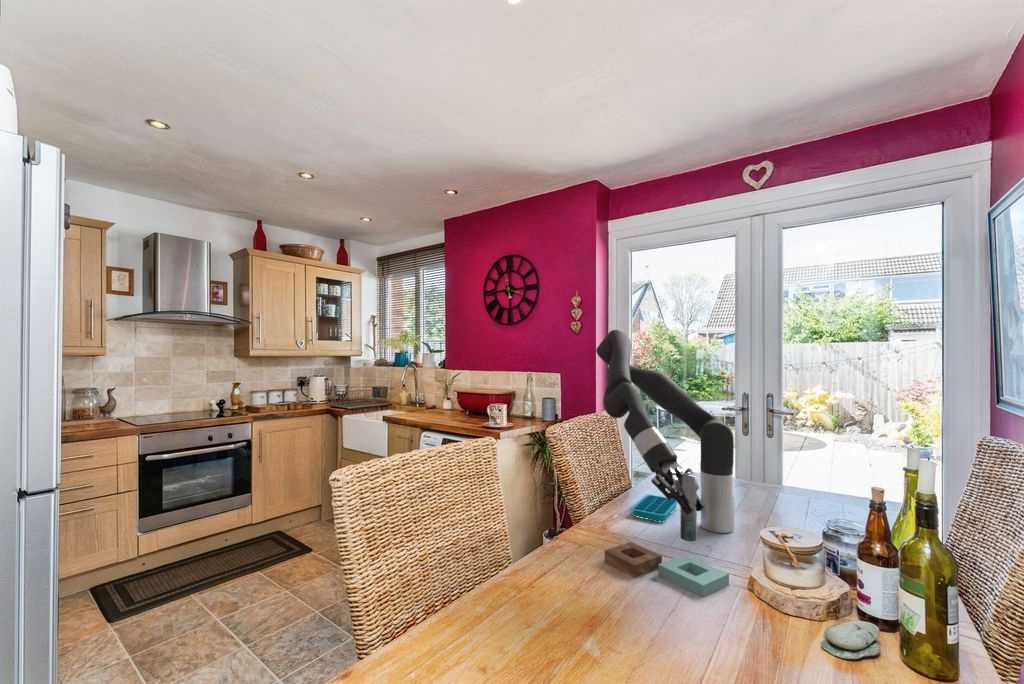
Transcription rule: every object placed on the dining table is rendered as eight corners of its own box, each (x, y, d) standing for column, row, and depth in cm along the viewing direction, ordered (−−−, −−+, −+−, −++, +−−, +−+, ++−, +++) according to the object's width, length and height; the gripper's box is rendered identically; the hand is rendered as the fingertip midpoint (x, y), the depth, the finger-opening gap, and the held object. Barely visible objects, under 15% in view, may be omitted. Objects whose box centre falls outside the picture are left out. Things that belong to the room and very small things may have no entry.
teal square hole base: (683, 564, 113) (683, 554, 114) (729, 584, 103) (728, 573, 104) (658, 574, 108) (658, 564, 108) (703, 596, 98) (703, 585, 98)
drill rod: (686, 534, 109) (686, 472, 110) (699, 539, 106) (699, 475, 106) (677, 537, 107) (677, 474, 108) (690, 542, 104) (690, 477, 105)
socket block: (631, 553, 120) (631, 541, 120) (662, 567, 112) (662, 555, 112) (604, 562, 114) (604, 550, 115) (635, 577, 106) (635, 565, 106)
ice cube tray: (629, 518, 148) (629, 509, 148) (647, 502, 165) (647, 494, 165) (665, 525, 142) (665, 515, 142) (679, 508, 159) (679, 499, 159)
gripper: (663, 454, 122) (703, 513, 111) (627, 460, 114) (667, 524, 103) (680, 438, 117) (724, 498, 107) (644, 443, 110) (687, 508, 99)
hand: (695, 510), depth 105 cm, fingers closed on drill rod, 3 cm apart
